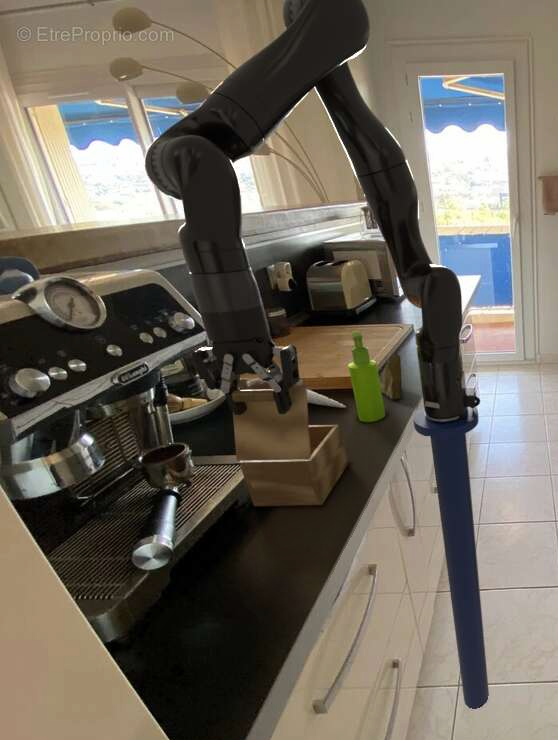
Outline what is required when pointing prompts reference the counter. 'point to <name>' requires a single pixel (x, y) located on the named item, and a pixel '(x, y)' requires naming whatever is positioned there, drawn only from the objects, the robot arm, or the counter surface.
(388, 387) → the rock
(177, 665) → the counter surface
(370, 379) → the soap dispenser
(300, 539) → the counter surface
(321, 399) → the unicorn horn
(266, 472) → the caddy
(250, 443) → the lid
